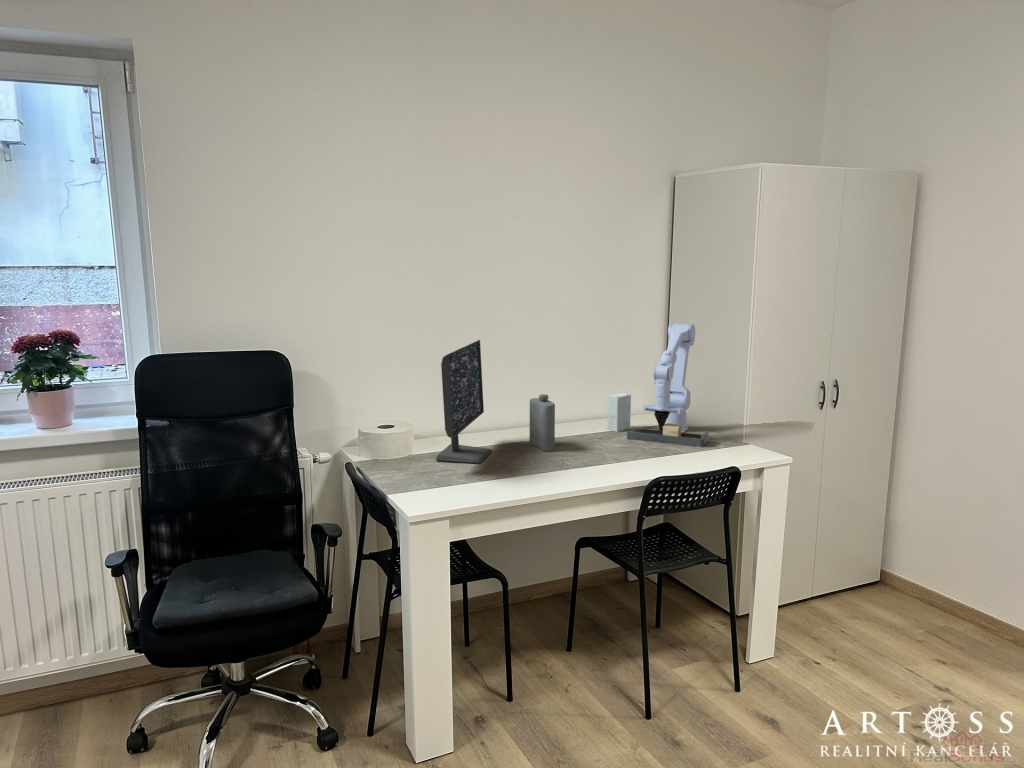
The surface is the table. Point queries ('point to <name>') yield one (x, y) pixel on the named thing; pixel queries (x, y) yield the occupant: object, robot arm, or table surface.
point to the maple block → (672, 429)
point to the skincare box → (619, 412)
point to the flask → (542, 423)
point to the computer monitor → (462, 401)
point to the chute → (669, 437)
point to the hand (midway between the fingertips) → (661, 430)
